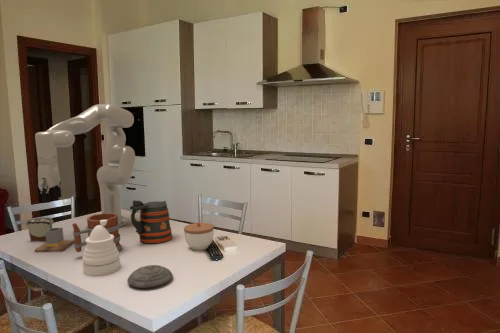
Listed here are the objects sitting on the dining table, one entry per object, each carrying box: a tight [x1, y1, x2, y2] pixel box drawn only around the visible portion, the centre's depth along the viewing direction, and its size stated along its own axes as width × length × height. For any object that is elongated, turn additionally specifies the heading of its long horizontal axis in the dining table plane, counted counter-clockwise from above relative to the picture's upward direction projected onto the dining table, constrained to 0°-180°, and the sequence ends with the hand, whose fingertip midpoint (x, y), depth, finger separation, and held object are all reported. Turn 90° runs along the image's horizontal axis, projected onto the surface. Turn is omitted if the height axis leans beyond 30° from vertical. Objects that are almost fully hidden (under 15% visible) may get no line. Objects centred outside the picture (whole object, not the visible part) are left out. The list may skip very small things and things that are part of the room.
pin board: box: [34, 239, 75, 253], centre depth 168 cm, size 12×12×7 cm
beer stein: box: [129, 200, 173, 244], centre depth 174 cm, size 19×15×20 cm
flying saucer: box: [127, 264, 173, 289], centre depth 131 cm, size 15×15×6 cm
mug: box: [72, 212, 123, 253], centre depth 160 cm, size 14×19×15 cm
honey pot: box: [82, 220, 121, 277], centre depth 142 cm, size 13×13×18 cm
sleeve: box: [45, 227, 64, 247], centre depth 168 cm, size 5×5×7 cm
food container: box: [25, 217, 54, 243], centre depth 179 cm, size 12×6×10 cm, turn 84°
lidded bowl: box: [183, 221, 215, 251], centre depth 163 cm, size 13×13×11 cm
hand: (52, 199), depth 166 cm, fingers open, 9 cm apart
